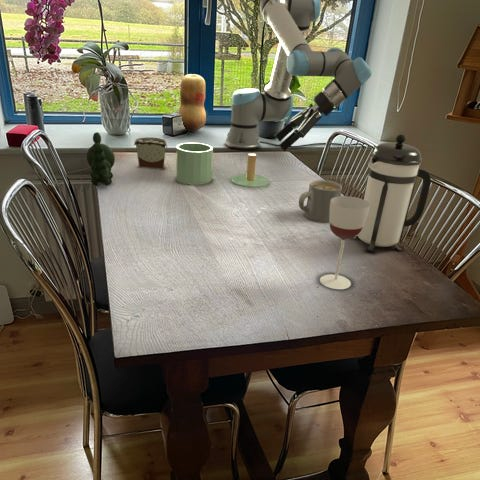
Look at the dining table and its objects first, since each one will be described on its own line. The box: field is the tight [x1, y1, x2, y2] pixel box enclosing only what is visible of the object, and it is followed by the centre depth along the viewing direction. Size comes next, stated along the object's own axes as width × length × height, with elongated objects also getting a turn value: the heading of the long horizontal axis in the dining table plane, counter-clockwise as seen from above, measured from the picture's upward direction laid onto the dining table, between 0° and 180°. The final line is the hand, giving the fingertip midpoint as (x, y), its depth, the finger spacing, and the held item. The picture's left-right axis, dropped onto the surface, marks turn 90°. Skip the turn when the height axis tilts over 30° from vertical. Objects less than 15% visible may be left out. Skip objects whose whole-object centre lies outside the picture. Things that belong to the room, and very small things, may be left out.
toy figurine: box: [86, 131, 116, 186], centre depth 168 cm, size 9×19×25 cm
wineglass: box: [319, 195, 370, 290], centre depth 115 cm, size 8×9×20 cm
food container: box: [133, 136, 168, 170], centre depth 188 cm, size 12×6×10 cm, turn 84°
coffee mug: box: [298, 179, 343, 223], centre depth 154 cm, size 13×10×10 cm
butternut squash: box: [177, 73, 207, 132], centre depth 236 cm, size 14×13×25 cm
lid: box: [230, 152, 270, 188], centre depth 178 cm, size 14×14×10 cm
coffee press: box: [351, 134, 432, 254], centre depth 134 cm, size 17×16×30 cm
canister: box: [175, 142, 214, 186], centre depth 177 cm, size 13×13×12 cm
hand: (279, 143), depth 174 cm, fingers open, 13 cm apart
